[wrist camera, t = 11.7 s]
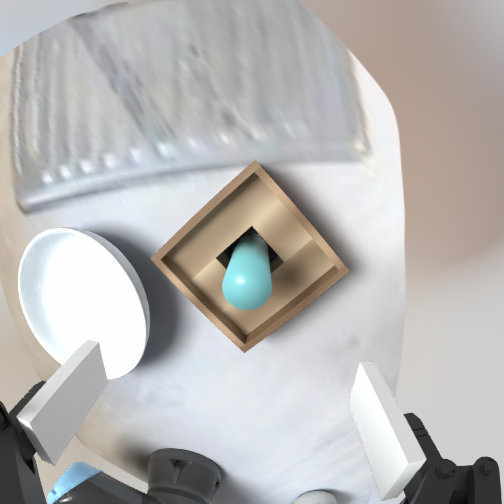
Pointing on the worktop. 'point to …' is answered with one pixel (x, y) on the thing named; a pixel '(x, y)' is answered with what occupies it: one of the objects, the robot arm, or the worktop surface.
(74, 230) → the serving bowl
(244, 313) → the bore box
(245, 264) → the peg
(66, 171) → the worktop surface
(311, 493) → the teacup
